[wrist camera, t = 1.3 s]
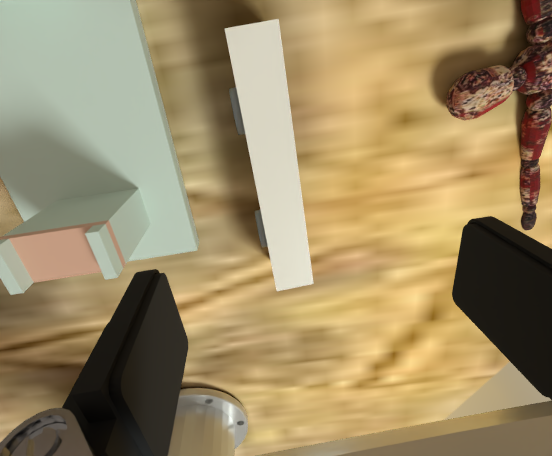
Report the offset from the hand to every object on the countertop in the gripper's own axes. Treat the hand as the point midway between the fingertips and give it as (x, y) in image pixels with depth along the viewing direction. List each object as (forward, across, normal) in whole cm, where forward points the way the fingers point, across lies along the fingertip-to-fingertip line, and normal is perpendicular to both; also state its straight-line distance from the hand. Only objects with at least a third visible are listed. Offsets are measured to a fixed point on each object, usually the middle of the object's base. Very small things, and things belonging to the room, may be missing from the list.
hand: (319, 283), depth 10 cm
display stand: (+17, +13, -6) cm, 22 cm away
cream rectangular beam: (+17, 0, 0) cm, 17 cm away
